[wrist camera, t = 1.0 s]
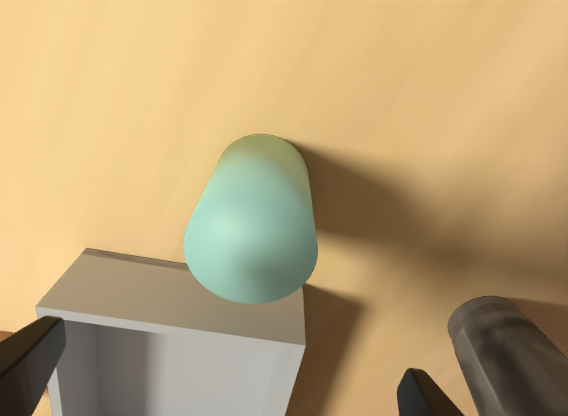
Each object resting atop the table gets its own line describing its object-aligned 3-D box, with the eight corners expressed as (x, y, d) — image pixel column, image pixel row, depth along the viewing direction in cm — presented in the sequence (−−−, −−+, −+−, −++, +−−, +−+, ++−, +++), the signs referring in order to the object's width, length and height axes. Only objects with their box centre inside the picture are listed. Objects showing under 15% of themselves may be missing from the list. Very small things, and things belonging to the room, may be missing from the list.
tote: (258, 443, 31) (254, 515, 26) (97, 423, 30) (64, 494, 25) (302, 282, 23) (305, 345, 19) (86, 248, 22) (35, 306, 18)
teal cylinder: (297, 226, 21) (302, 312, 15) (211, 211, 21) (179, 293, 15) (317, 143, 19) (332, 205, 13) (221, 125, 19) (188, 179, 12)
